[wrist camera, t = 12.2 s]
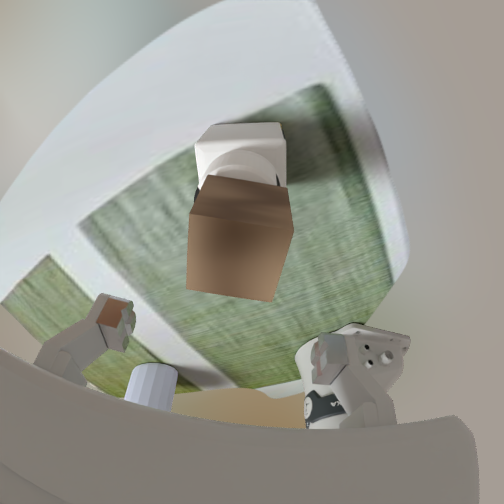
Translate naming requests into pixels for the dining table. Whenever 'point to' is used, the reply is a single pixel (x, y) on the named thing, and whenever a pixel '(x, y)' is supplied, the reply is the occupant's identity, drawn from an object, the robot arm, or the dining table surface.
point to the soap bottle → (152, 385)
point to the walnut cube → (238, 238)
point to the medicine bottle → (243, 153)
